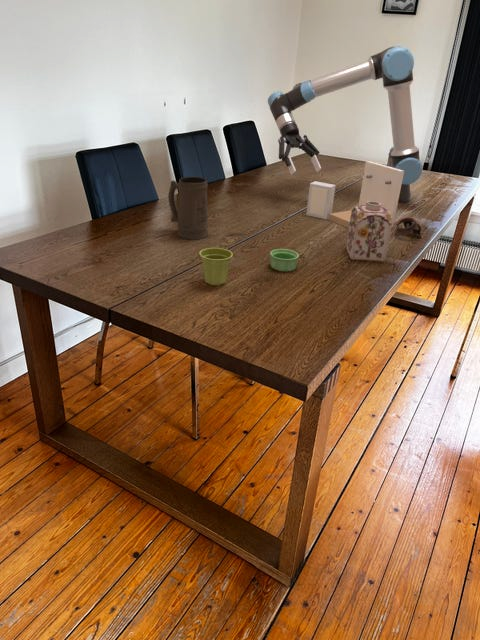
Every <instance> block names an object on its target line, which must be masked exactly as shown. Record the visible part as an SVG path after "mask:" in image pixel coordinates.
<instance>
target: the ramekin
mask: <svg viewBox="0 0 480 640" xmlns="http://www.w3.org/2000/svg"><path fill="white" fill-rule="evenodd" d="M269 254H270V255H269V256H270V267H271V268H272V269H274V270H276V271H279V272H291V271H292V272H293V271H295V269H296V267H297V263H298V260H299V256H300V255H299V253H298V252H296V251H295V250H293V249H287V248H276V249H272V250H271V251H270V252H269Z"/></svg>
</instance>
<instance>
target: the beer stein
mask: <svg viewBox="0 0 480 640" xmlns="http://www.w3.org/2000/svg"><path fill="white" fill-rule="evenodd" d="M208 186H209V184H208V181H207V179H206V178H205V177H198V176H185V177H181V178H180V179H179V180H178V182H177V181H176V180H170V187H169V191H168V194H167V195H168V196H167V197H168V205H169V207H170V210H171V213H172V214H171V215H172V216H171V219H170V220H171V222H172V223H174V222H176V223H177V227H178V230H177V235H178V237H180V238H181V239H185V240H202V239H205V238H206V237H207V236H208V233H209V232H208V222H209V221H208V217H209V215H208V205H209V204H208ZM176 190H178V196H177V206H176V201H175V191H176Z"/></svg>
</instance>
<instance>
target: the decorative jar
mask: <svg viewBox="0 0 480 640" xmlns="http://www.w3.org/2000/svg"><path fill="white" fill-rule="evenodd" d="M351 210H352V212H351V217H350V223H349V228H347V229H348V230H347V237H346V244H345V248H346V249H345V250H346V251H347V253H348V255H349V258H350V260H352V261H353V260H354V261H369V262H385V261H386V259H387V253H388V248H389V244H390V243H389V242H390V237H391V231H392V228H393V227H392V218H391V212H390V211H389V209H387V208H384V207H382V206H381V203H379V202H375V201H368V202H367V203H366V205H359V204H358V205H356V206H354V208H353V209H351Z"/></svg>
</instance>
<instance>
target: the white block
mask: <svg viewBox="0 0 480 640" xmlns="http://www.w3.org/2000/svg"><path fill="white" fill-rule="evenodd" d="M335 192H336V184H330V183H328V182H327V183H326V182H321V181H315V180H314V181H313V182H310V183H309V189H308V195H307V197H308V198H307V205H306V206H307V207H306V214H305V215H306V216H310V217H313V218H314V217H315V218H318V219H322V220H323V219H324V220H329V214H331V213H333V207H334V200H335Z"/></svg>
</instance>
